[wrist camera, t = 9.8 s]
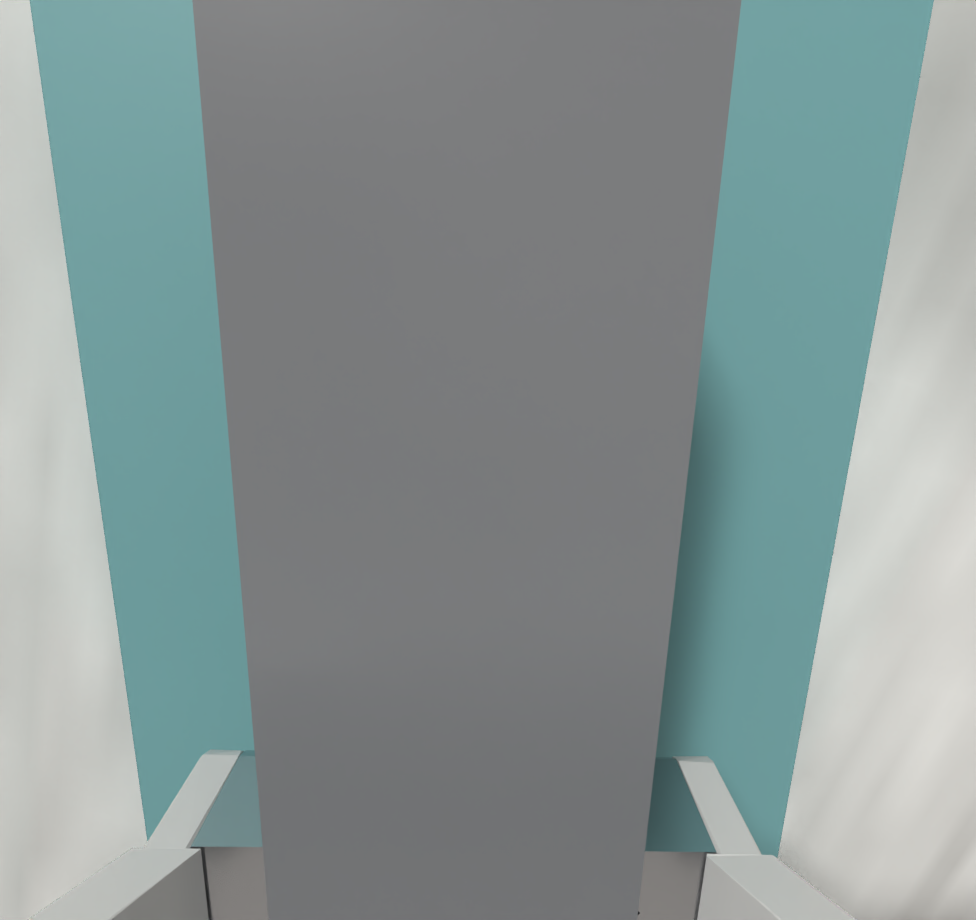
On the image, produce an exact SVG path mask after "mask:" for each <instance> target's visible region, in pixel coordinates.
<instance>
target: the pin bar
mask: <svg viewBox="0 0 976 920" xmlns="http://www.w3.org/2000/svg"><path fill="white" fill-rule="evenodd" d="M192 2H193V14H194V26H195V38H196V50H197V62H198V74H199V86H200V98H201V110H202V122H203V134H204V147H205V159H206V171H207V183H208V195H209V207H210V219H211V231H212V243H213V255H214V267H215V279H216V291H217V303H218V315H219V327H220V339H221V351H222V363H223V376H224V388H225V400H226V412H227V424H228V436H229V448H230V460H231V472H232V484H233V496H234V508H235V520H236V532H237V544H238V556H239V568H240V580H241V593H242V605H243V617H244V629H245V641H246V653H247V665H248V677H249V689H250V701H251V713H252V725H253V737H254V749H255V761H256V773H257V785H258V797H259V809H260V822H261V834H262V846H263V858H264V870H265V882H266V894H267V906H268V918H269V920H637V917H638V908H639V899H640V890H641V881H642V873H643V864H644V855H645V846H646V837H647V829H648V820H649V811H650V802H651V793H652V784H653V776H654V767H655V758H656V749H657V740H658V732H659V723H660V714H661V705H662V696H663V688H664V679H665V670H666V661H667V652H668V643H669V635H670V626H671V617H672V608H673V599H674V591H675V582H676V573H677V564H678V555H679V546H680V538H681V529H682V520H683V511H684V502H685V494H686V485H687V476H688V467H689V458H690V449H691V441H692V432H693V423H694V414H695V405H696V397H697V388H698V379H699V370H700V361H701V353H702V344H703V335H704V326H705V317H706V308H707V300H708V291H709V282H710V273H711V264H712V256H713V247H714V238H715V229H716V220H717V211H718V203H719V194H720V185H721V176H722V167H723V159H724V150H725V141H726V132H727V123H728V114H729V106H730V97H731V88H732V79H733V70H734V62H735V53H736V44H737V35H738V26H739V17H740V9H741V0H192Z"/></svg>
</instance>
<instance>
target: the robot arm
mask: <svg viewBox="0 0 976 920" xmlns="http://www.w3.org/2000/svg"><path fill="white" fill-rule="evenodd" d="M28 920H269V918H268V906H267V894H266V882H265V870H264V858H263V846H262V834H261V822H260V809H259V797H258V785H257V773H256V761H255V750H246V751H241V750H214V749H210V750H209V751H207V752H206V753H205V754H203V755H202V756H201V757H200V759H199V760H198V762H197V763H196V765H195V767H194V768H193V770H192V771H191V773H190V775H189V776H188V778H187V779H186V781H185V783H184V784H183V786H182V787H181V789H180V791H179V792H178V794H177V795H176V797H175V799H174V800H173V802H172V803H171V805H170V807H169V808H168V810H167V811H166V813H165V815H164V816H163V818H162V819H161V821H160V823H159V824H158V826H157V827H156V829H155V831H154V832H153V834H152V835H151V837H150V839H149V840H148V842H147V843H146V845H145V847H144V848H131V849H130V850H128V851H127V852H125V853H124V854H122V855H121V856H120V857H118V858H117V859H115V860H114V861H112V862H111V863H109V864H108V865H106V866H105V867H104V868H102V869H101V870H99V871H98V872H96V873H95V874H93V875H92V876H90V877H89V878H88V879H86V880H85V881H83V882H82V883H80V884H79V885H77V886H76V887H74V888H73V889H72V890H70V891H69V892H67V893H66V894H64V895H63V896H61V897H60V898H58V899H57V900H56V901H54V902H53V903H51V904H50V905H48V906H47V907H45V908H44V909H42V910H41V911H40V912H38V913H37V914H35V915H34V916H32V917H31V918H29V919H28ZM637 920H856V919H855V918H853V917H852V916H851V915H850V914H848V913H847V912H846V911H844V910H843V909H842V908H841V907H839V906H838V905H837V904H835V903H834V902H833V901H832V900H830V899H829V898H828V897H826V896H825V895H824V894H823V893H821V892H820V891H819V890H817V889H816V888H815V887H814V886H812V885H811V884H810V883H808V882H807V881H806V880H805V879H803V878H802V877H801V876H799V875H798V874H797V873H796V872H794V871H793V870H792V869H790V868H789V867H788V866H787V865H785V864H784V863H783V862H781V861H780V860H779V859H778V858H776V857H775V856H774V855H762V854H761V852H760V850H759V848H758V846H757V845H756V843H755V841H754V839H753V837H752V835H751V833H750V831H749V829H748V827H747V825H746V823H745V821H744V820H743V818H742V816H741V814H740V812H739V810H738V808H737V806H736V804H735V802H734V800H733V798H732V796H731V795H730V793H729V791H728V789H727V787H726V785H725V783H724V781H723V779H722V777H721V775H720V773H719V771H718V770H717V768H716V766H715V764H714V762H713V761H712V760H711V759H710V758H709V757H708V756H673V757H672V758H670V757H656V758H655V767H654V776H653V784H652V793H651V802H650V811H649V820H648V829H647V837H646V846H645V855H644V864H643V873H642V881H641V890H640V899H639V908H638V917H637Z"/></svg>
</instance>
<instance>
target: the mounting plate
mask: <svg viewBox="0 0 976 920" xmlns="http://www.w3.org/2000/svg"><path fill="white" fill-rule="evenodd" d="M933 1H934V0H741V9H740V17H739V26H738V35H737V44H736V53H735V62H734V70H733V79H732V88H731V97H730V106H729V114H728V123H727V132H726V141H725V150H724V159H723V167H722V176H721V185H720V194H719V203H718V211H717V220H716V229H715V238H714V247H713V256H712V264H711V273H710V282H709V291H708V300H707V308H706V317H705V326H704V335H703V344H702V353H701V361H700V370H699V379H698V388H697V397H696V405H695V414H694V423H693V432H692V441H691V449H690V458H689V467H688V476H687V485H686V494H685V502H684V511H683V520H682V529H681V538H680V546H679V555H678V564H677V573H676V582H675V591H674V599H673V608H672V617H671V626H670V635H669V643H668V652H667V661H666V670H665V679H664V688H663V696H662V705H661V714H660V723H659V732H658V740H657V749H656V757H670V758H672V757H673V756H708V757H709V758H710V759H711V760H712V761H713V762H714V764H715V766H716V768H717V770H718V771H719V773H720V775H721V777H722V779H723V781H724V783H725V785H726V787H727V789H728V791H729V793H730V795H731V796H732V798H733V800H734V802H735V804H736V806H737V808H738V810H739V812H740V814H741V816H742V818H743V820H744V821H745V823H746V825H747V827H748V829H749V831H750V833H751V835H752V837H753V839H754V841H755V843H756V845H757V846H758V848H759V850H760V852H761V854H762V855H774V856H775V857H776V858H777V857H778V851H779V846H780V840H781V835H782V829H783V824H784V818H785V813H786V807H787V802H788V796H789V791H790V785H791V780H792V774H793V769H794V763H795V758H796V752H797V747H798V741H799V736H800V731H801V725H802V720H803V714H804V709H805V703H806V698H807V692H808V687H809V681H810V676H811V670H812V665H813V659H814V654H815V648H816V643H817V637H818V632H819V626H820V621H821V615H822V610H823V604H824V599H825V593H826V588H827V582H828V577H829V572H830V566H831V561H832V555H833V550H834V544H835V539H836V533H837V528H838V522H839V517H840V511H841V506H842V500H843V495H844V489H845V484H846V478H847V473H848V467H849V462H850V456H851V451H852V445H853V440H854V434H855V429H856V423H857V418H858V413H859V407H860V402H861V396H862V391H863V385H864V380H865V374H866V369H867V363H868V358H869V352H870V347H871V341H872V336H873V330H874V325H875V319H876V314H877V308H878V303H879V297H880V292H881V286H882V281H883V275H884V270H885V264H886V259H887V254H888V248H889V243H890V237H891V232H892V226H893V221H894V215H895V210H896V204H897V199H898V193H899V188H900V182H901V177H902V171H903V166H904V160H905V155H906V149H907V144H908V138H909V133H910V127H911V122H912V116H913V111H914V105H915V100H916V95H917V89H918V84H919V78H920V73H921V67H922V62H923V56H924V51H925V45H926V40H927V34H928V29H929V23H930V18H931V12H932V7H933ZM30 6H31V13H32V20H33V27H34V34H35V42H36V49H37V56H38V63H39V70H40V77H41V84H42V92H43V99H44V106H45V113H46V120H47V127H48V134H49V141H50V149H51V156H52V163H53V170H54V177H55V184H56V191H57V199H58V206H59V213H60V220H61V227H62V234H63V241H64V249H65V256H66V263H67V270H68V277H69V284H70V291H71V298H72V306H73V313H74V320H75V327H76V334H77V341H78V348H79V356H80V363H81V370H82V377H83V384H84V391H85V398H86V405H87V413H88V420H89V427H90V434H91V441H92V448H93V455H94V463H95V470H96V477H97V484H98V491H99V498H100V505H101V512H102V520H103V527H104V534H105V541H106V548H107V555H108V562H109V570H110V577H111V584H112V591H113V598H114V605H115V612H116V620H117V627H118V634H119V641H120V648H121V655H122V662H123V669H124V677H125V684H126V691H127V698H128V705H129V712H130V719H131V727H132V734H133V741H134V748H135V755H136V762H137V769H138V776H139V784H140V791H141V798H142V805H143V812H144V819H145V826H146V834H147V841H148V840H149V839H150V837H151V835H152V834H153V832H154V831H155V829H156V827H157V826H158V824H159V823H160V821H161V819H162V818H163V816H164V815H165V813H166V811H167V810H168V808H169V807H170V805H171V803H172V802H173V800H174V799H175V797H176V795H177V794H178V792H179V791H180V789H181V787H182V786H183V784H184V783H185V781H186V779H187V778H188V776H189V775H190V773H191V771H192V770H193V768H194V767H195V765H196V763H197V762H198V760H199V759H200V757H201V756H202V755H203V754H205V753H206V752H207V751H209V750H210V749H214V750H241V751H246V750H255V749H254V737H253V725H252V713H251V701H250V689H249V677H248V665H247V653H246V641H245V629H244V617H243V605H242V593H241V580H240V568H239V556H238V544H237V532H236V520H235V508H234V496H233V484H232V472H231V460H230V448H229V436H228V424H227V412H226V400H225V388H224V376H223V363H222V351H221V339H220V327H219V315H218V303H217V291H216V279H215V267H214V255H213V243H212V231H211V219H210V207H209V195H208V183H207V171H206V159H205V147H204V134H203V122H202V110H201V98H200V86H199V74H198V62H197V50H196V38H195V26H194V14H193V2H192V0H30Z"/></svg>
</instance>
